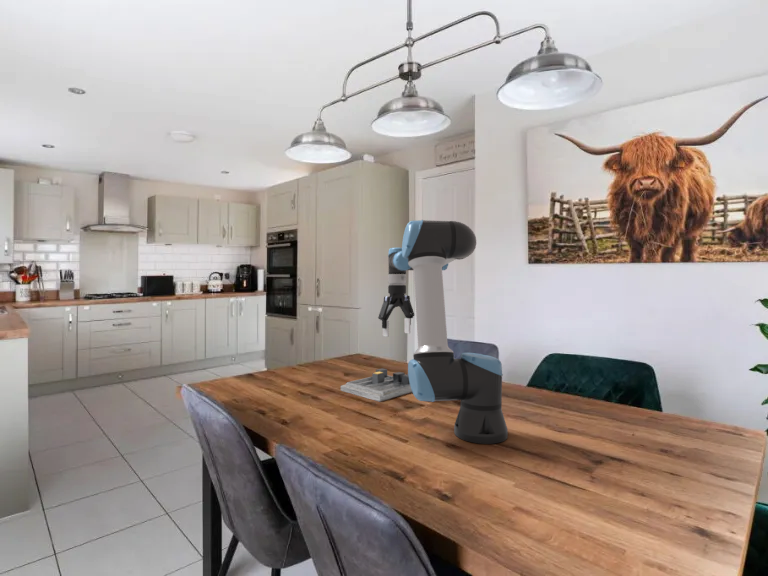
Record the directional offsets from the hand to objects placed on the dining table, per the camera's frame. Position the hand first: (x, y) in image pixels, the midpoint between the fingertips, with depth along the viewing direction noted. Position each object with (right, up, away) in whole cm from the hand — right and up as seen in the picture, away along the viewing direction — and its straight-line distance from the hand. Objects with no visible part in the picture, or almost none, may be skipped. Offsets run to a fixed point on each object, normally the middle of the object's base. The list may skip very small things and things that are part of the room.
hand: (396, 334), depth 183 cm
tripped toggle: (-8, -19, -6) cm, 21 cm away
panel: (-6, -21, -8) cm, 23 cm away
